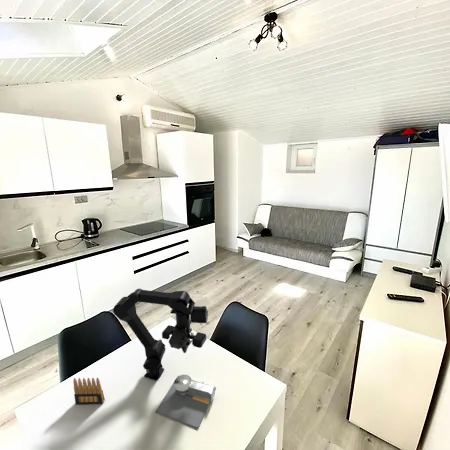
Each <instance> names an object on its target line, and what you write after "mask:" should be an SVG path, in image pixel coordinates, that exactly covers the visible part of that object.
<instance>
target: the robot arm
mask: <svg viewBox="0 0 450 450" xmlns="http://www.w3.org/2000/svg"><path fill="white" fill-rule="evenodd" d="M137 303H145V304H155V305H163V306H167V307H169V308H170V309H171V310H170V313H169V314H175V325H170V324H168V325H167V326H166V327H165V328H164V329H163V331H162V332H161V339H156V338H154V337H153V335H152V334H151V333H150V331H149V329H147V326H146V325H145V324H144V322H143V321H142V319H141V317H140V316H139V315H138V313H137V307H136V304H137ZM195 304H196V302H195V300H193V299H192V298H191V296H190V294H189V293H188V291H186V290H175V291H171V292H163V291H154V290H147V289H143V288H136V289H135V290H134V291H133V292H131V293H130V294H128V295H127V296H122V297H121V298H120V299H119V300H118V301H117V303H116V304H115V305H114V307H113V310H112V311H113V314H114V315H115V316H116V318H118V319H119V320H120V321H122V322H125V323H126V324H127V325H128V326H129V329H131V331H132V332H133V333H134V335H135V336H136V338H137V340H138V341H139V342H140V343H141V345H142V346H143V347H144V351H145V352H144V353H145V357H146V359H145V361H144V362H143V364H142V368H143V369H144V370H145V372H146V373H145V374H144V378H145V379H149V380H152V381H155V382H156V381H158V379H159V378H160V377H161V375H163V372H164V371H165V368H163V364H162V359H163V358H164V355H165V352H166V344H164V342H163V341H162V339H164V340H168V343H169V346H170V347H171V348H172V349H173V348H174V349H177V350H180V349H181V350H182V353H183V354H186V353H187V351H188V348H189V346H190V345H191V344H192V346H193V347H195V348H199V349H201V348H202V347H203V345H204V344H205V342H207V334H206V333H203V332H199V331H198V332H196V334H195V332H192V331H193V329H192V328H191V324H192V323H193V324H207V323H208V318H209V311H208V307H207V306H206V305H203V306H197V305H196V306H195Z"/></svg>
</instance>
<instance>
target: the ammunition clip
mask: <svg viewBox="0 0 450 450" xmlns="http://www.w3.org/2000/svg"><path fill="white" fill-rule="evenodd" d="M73 390H74V394H73V395H74V401H75V403H74V404H75V405H76V406H80V405H81V406H85V405H87V406H89V405H91V406H93V405H103V404H104V402H105V396H104V395H105V394H104V390H103V389H102V385H101V382H100V378H99V377H96V379H95V378H94V377H92V378H91V379H90V377H87V379H86V378H85V377H83V379H81V378H80V377H78V379H76V378H75V377H74V378H73Z"/></svg>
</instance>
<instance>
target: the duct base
mask: <svg viewBox="0 0 450 450" xmlns="http://www.w3.org/2000/svg"><path fill="white" fill-rule="evenodd" d="M191 381H194V382H198V383H202V384H206V385H208V384H207V383H203V382H201V381H200V382H199V381H198V380H194V379H191ZM216 389H217V388H216V386H215V390H216ZM210 404H211V402H209V401H208V400H204V399H201V398H197V397H194V396H190V395H189V394H188V392H186V393H182V394H181V393H178V392H176V391H175V388H174V382H173V383H172V385H171V386H170V387H169V389H168V391H167V392H166V394H165V395H164V397H163V398H162V400H161V402H160V403H159V404H158V406H157V408H156V410H155V413H156V414H159V415H161V416H164V417H165V418H169V419H171V420H174V421H176V422H179V423H182V424H184V425H187V426H188V427H189V426H190V427H193V428H195V429H197V430H199V429H200V426H201V424H202V421H203V419H204V416H205V415H206V412H207V410H208V407H209V405H210Z"/></svg>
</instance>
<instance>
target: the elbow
mask: <svg viewBox="0 0 450 450" xmlns="http://www.w3.org/2000/svg"><path fill="white" fill-rule="evenodd" d="M191 380H192V378H191V376H190V375H189V374H180V375H177V377H176V378H175V379H174V381H173V383H174V388H175V391H176V392H178V393H181V394H182V393H186V392H188V394H189V395H190V396H194V397H197V398H201V399H204V400H208V401H209V402H210V404H211V403H212V402H213V400H214V397H215V393H216V389H215V387H216V386H215V384H211V385H210V384H207V383H204V384H202V383H203V382H200V383H198V382H199V381H197V382H194V381H195V380H194V381H191ZM206 384H207V385H206Z"/></svg>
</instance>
